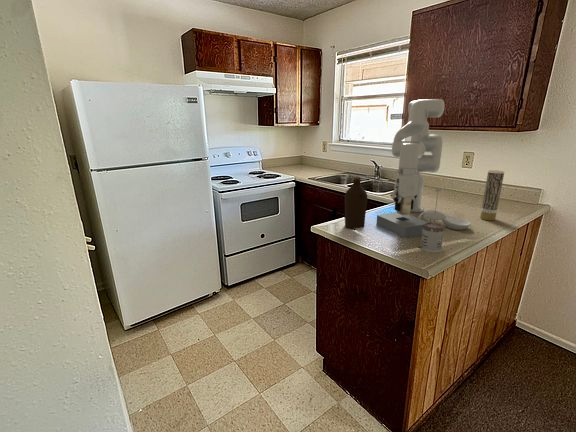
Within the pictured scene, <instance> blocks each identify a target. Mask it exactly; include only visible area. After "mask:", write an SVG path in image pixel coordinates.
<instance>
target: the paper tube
mask: <svg viewBox="0 0 576 432" xmlns="http://www.w3.org/2000/svg"><path fill="white" fill-rule="evenodd" d="M504 177H505V171H503V170H498V169H497V170H494V169H493V170H492V169H489V170H488V171H487V176H486V182H485V188H484V193H483V197H482V198H483V199H482V205H481V210H480V211H481V212H480V219H482V220H484V221H495V220H496V218H497V212H498V208H499V201H500V196H501V192H502V187H503V182H504Z"/></svg>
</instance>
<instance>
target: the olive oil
mask: <svg viewBox="0 0 576 432" xmlns="http://www.w3.org/2000/svg"><path fill="white" fill-rule="evenodd" d="M367 206H368V193H367V191H366V190H365V188H364V187H362V185H361V176H360V175H359V176H353V180H352V185H351V186H350V187H349V188H348V189H347V190H346V191H345V193H344V227H345V228H346V229H349V230H354V231H357V229H361V228H364V227H365V223H366V214H367Z"/></svg>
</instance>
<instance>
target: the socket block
mask: <svg viewBox="0 0 576 432" xmlns="http://www.w3.org/2000/svg"><path fill="white" fill-rule="evenodd" d="M425 223H430V221H429V222H428V221H426V220H423V219H422V218H421V219H418V217H415V216H413V215H410V214H409V215H400V214H398V213H397V211H395V212H389V213H384V214H383V213H382V214H377V215H376V226H378V227H381V228H382V229H384V230H387V231H389V232H391V233H393V234H395V235H397V236H399V237H401V238H404V239H407V238H414V237H418V236H422V234H423V233H422V229H423V227H425V226H424V224H425Z"/></svg>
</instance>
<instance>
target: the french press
mask: <svg viewBox="0 0 576 432" xmlns="http://www.w3.org/2000/svg"><path fill="white" fill-rule="evenodd" d="M441 191H442V190H441V188H439V187H438V188H436V189H435V192H437V194H436V203H435V206H437V205H438V204H437V203H438V197H439V193H440V192H441ZM434 211H435V212H428V213H426V214H424V215H423V216H424V217H425V218H426V219H429V223H425V224H424V226H425V227H423V229H422V233H423V234H422V235H421V237H420V238H421V239H420V246H418V249H420V250H422V251H424V252H428V253H441V252H443V251H444V250H445V249H444V247H443V246H442V245H443V239H444V233H445V230H444V225H442V224H441V223H438V222H437V223H436V221H442V220H444V219H445V218H446V216H445V215H443V214H441V213H442V212H441V213H439V212H440V211H438V212H436V211H437V207H435V210H434ZM432 221H433V222H432Z"/></svg>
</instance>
